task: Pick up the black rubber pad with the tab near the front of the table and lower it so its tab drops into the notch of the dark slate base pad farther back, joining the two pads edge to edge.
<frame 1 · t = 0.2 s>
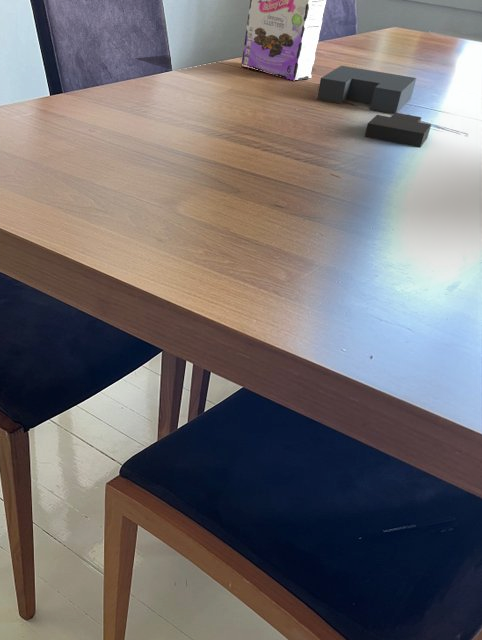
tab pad: (393, 148, 107), on the table
candy box: (275, 74, 145), on the table
base pad: (364, 99, 132), on the table
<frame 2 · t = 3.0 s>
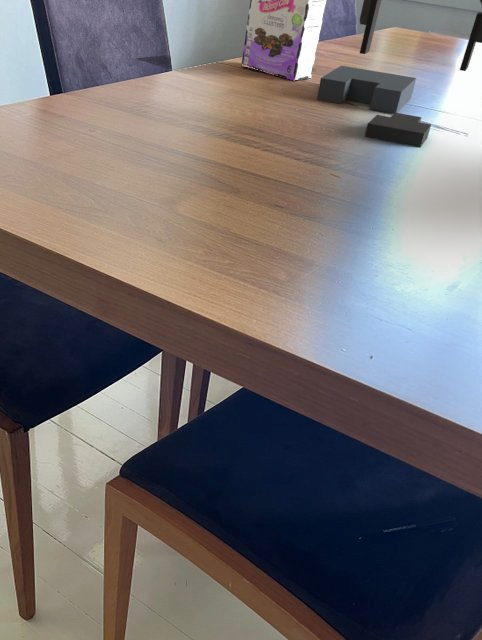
hand: (412, 60, 100), 12 cm above the table, tool pointing down, fingers open, 13 cm apart
nothing on the table moved.
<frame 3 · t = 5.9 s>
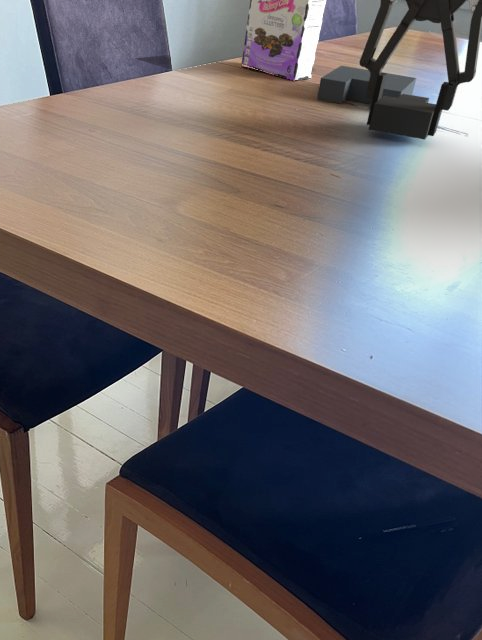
hand: (401, 128, 105), 3 cm above the table, tool pointing down, fingers closed on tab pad, 8 cm apart
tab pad: (400, 130, 106), point 3 cm above the table, touching gripper
everything else where it was.
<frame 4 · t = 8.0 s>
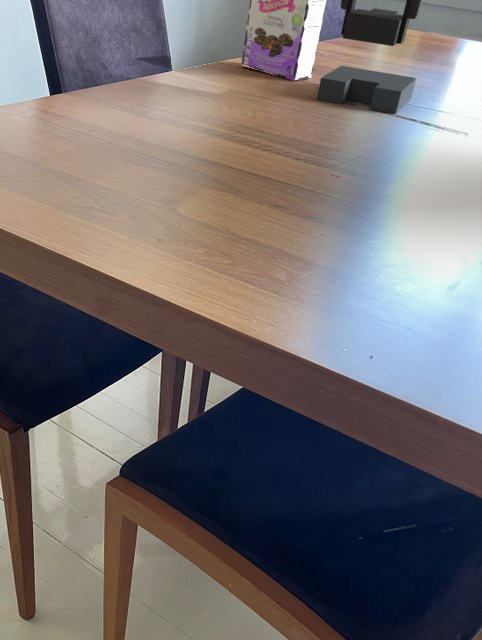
hand: (372, 38, 115), 11 cm above the table, tool pointing down, fingers closed on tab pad, 8 cm apart
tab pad: (371, 39, 115), point 11 cm above the table, touching gripper
everything else where it was.
when the fingers open (0 cm above the table, at t = 10.3 s): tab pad stays where it is, on the table.
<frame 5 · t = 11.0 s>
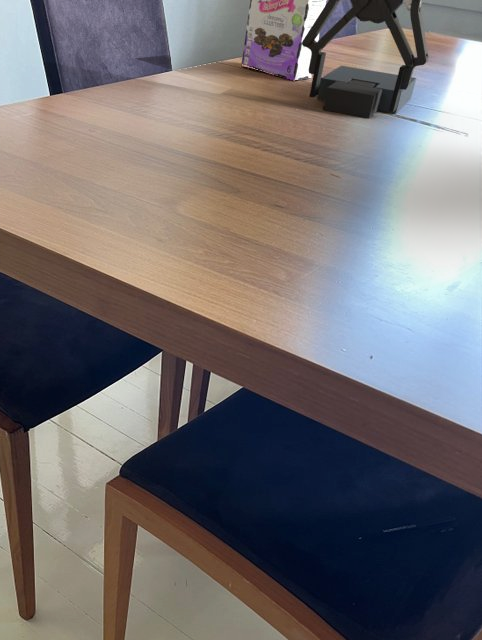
hand: (352, 102, 123), 1 cm above the table, tool pointing down, fingers open, 13 cm apart
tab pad: (350, 110, 124), on the table
everything else where it was.
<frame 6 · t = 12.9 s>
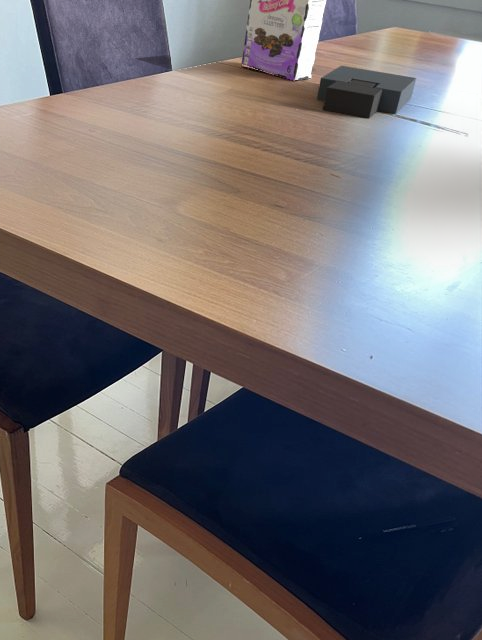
nothing on the table moved.
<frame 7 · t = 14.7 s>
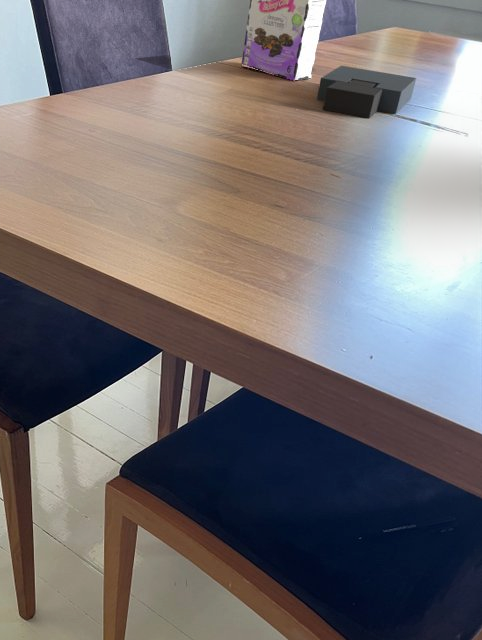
nothing on the table moved.
at the end: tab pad 0.1 cm from the target spot on the table beside the base pad, on the table; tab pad tilted 0° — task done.
